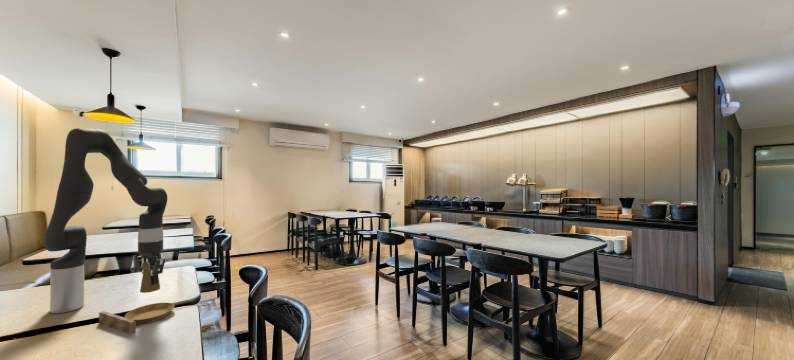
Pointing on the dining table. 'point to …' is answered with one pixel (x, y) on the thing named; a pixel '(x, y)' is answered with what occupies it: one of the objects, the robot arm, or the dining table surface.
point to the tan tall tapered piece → (148, 280)
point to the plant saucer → (150, 312)
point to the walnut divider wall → (117, 322)
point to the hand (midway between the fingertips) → (150, 283)
